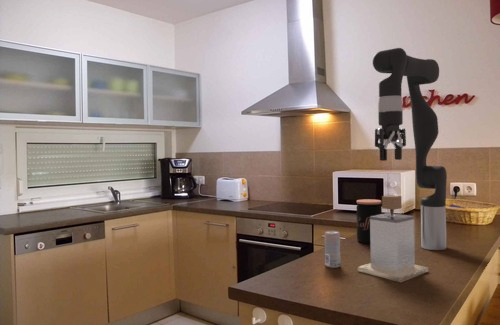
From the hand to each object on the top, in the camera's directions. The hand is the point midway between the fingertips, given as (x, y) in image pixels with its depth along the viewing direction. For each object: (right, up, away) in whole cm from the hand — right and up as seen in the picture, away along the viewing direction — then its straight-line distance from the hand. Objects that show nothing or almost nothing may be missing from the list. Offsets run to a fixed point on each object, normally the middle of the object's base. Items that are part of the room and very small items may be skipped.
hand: (390, 160), depth 138 cm
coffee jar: (+6, -36, +46) cm, 58 cm away
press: (+1, -37, +1) cm, 37 cm away
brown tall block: (+1, -33, +1) cm, 33 cm away
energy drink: (-17, -38, +10) cm, 42 cm away
